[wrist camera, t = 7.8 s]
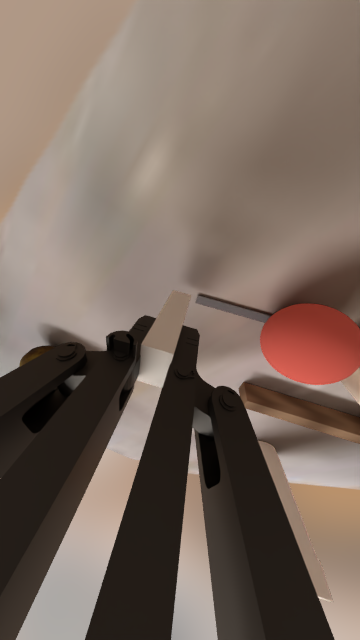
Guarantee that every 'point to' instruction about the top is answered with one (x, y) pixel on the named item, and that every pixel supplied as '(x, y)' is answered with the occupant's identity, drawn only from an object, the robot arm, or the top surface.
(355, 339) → the ball
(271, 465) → the foam cup
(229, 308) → the thin gray bar
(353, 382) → the pin
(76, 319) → the top surface
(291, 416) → the rail
